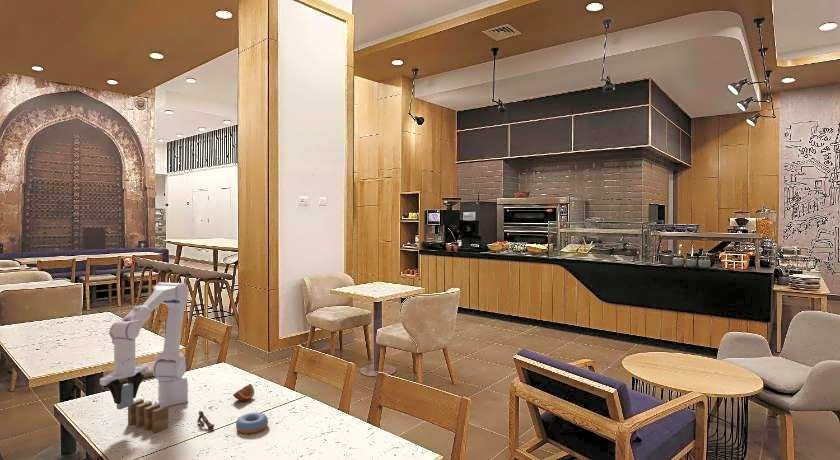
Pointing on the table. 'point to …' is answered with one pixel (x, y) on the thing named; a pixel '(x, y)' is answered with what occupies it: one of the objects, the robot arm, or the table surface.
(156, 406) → the domino
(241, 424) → the doughnut
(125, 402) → the domino
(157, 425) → the domino
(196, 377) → the table surface
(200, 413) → the dark angular frame
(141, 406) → the domino
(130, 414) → the domino
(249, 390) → the fruit slice
